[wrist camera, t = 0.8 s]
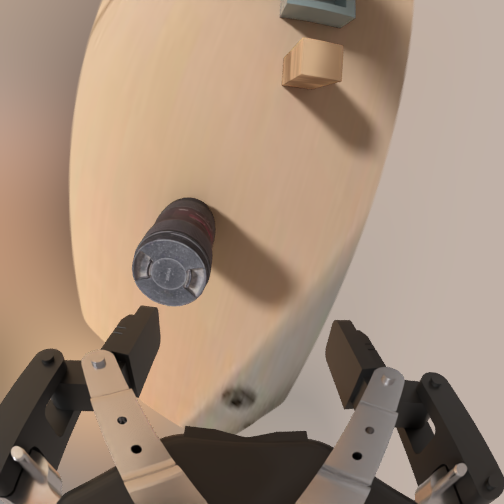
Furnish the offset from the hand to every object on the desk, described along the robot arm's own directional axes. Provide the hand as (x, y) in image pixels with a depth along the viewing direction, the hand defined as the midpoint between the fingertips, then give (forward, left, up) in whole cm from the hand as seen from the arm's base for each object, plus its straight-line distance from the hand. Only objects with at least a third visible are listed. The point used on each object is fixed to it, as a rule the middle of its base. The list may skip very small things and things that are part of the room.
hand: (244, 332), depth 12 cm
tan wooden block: (-8, +15, -28) cm, 33 cm away
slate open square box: (-17, +24, -28) cm, 41 cm away
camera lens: (0, -9, -28) cm, 30 cm away
